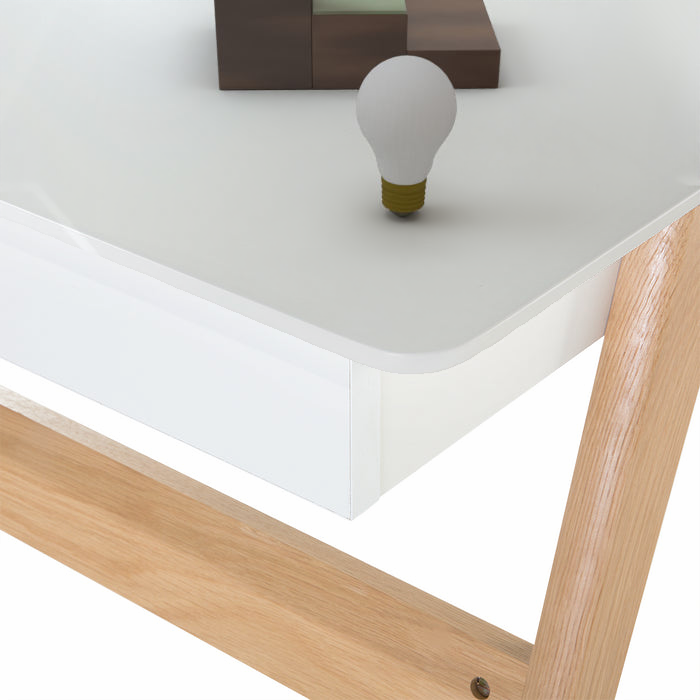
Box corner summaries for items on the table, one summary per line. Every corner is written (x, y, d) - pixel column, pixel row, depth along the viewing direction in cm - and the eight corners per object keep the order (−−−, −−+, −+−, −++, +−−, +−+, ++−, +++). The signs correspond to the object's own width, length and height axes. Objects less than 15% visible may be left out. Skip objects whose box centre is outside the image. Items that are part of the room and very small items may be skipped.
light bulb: (469, 222, 75) (480, 65, 70) (388, 246, 73) (392, 86, 67) (416, 184, 79) (422, 34, 74) (337, 206, 77) (337, 52, 71)
